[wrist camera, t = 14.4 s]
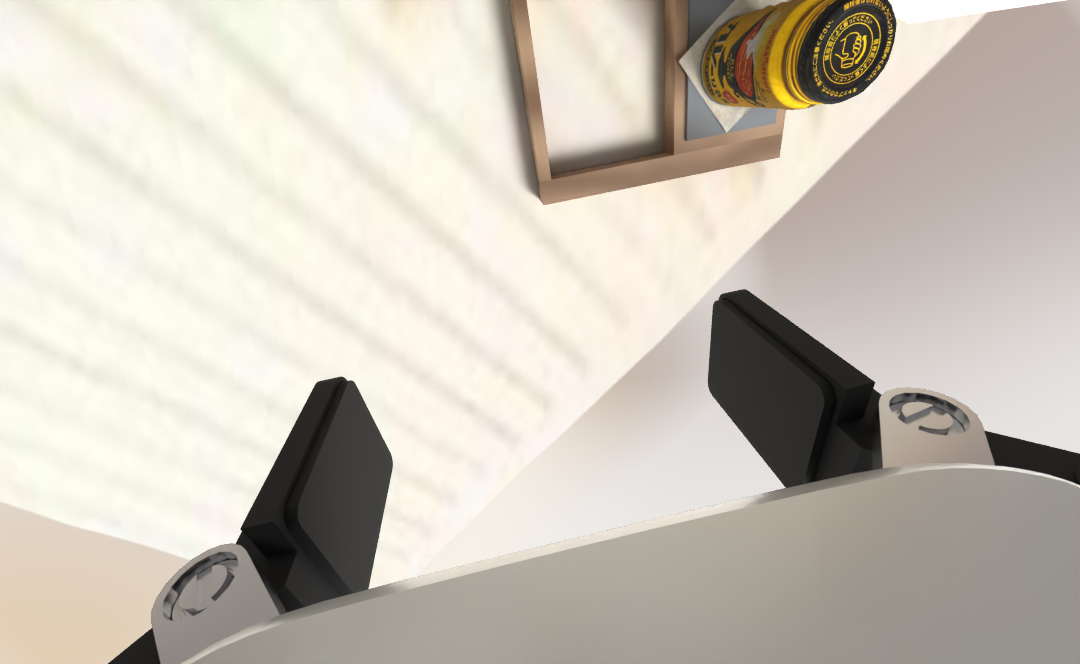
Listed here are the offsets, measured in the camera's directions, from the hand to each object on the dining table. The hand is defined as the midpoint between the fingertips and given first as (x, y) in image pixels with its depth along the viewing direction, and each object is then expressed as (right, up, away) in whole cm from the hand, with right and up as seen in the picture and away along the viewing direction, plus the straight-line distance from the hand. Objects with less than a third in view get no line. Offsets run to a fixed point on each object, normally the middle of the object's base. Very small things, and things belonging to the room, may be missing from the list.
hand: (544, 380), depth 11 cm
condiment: (+16, +23, +22) cm, 36 cm away
